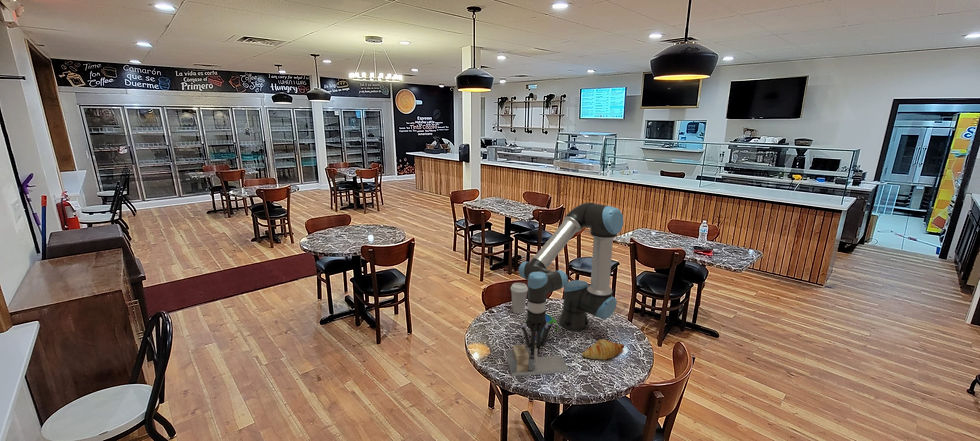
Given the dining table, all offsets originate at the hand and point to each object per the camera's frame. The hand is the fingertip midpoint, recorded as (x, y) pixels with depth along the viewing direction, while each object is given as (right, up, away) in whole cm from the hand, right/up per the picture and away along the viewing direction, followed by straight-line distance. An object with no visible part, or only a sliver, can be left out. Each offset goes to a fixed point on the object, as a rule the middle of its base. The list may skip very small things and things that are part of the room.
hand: (534, 361), depth 171 cm
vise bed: (+1, -3, +1) cm, 3 cm away
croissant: (+32, -1, +12) cm, 34 cm away
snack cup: (+6, +3, +25) cm, 26 cm away
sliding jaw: (-3, -1, +1) cm, 3 cm away
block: (-6, -2, -1) cm, 6 cm away
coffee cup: (-3, +9, +51) cm, 52 cm away
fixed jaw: (-10, -2, -1) cm, 10 cm away
